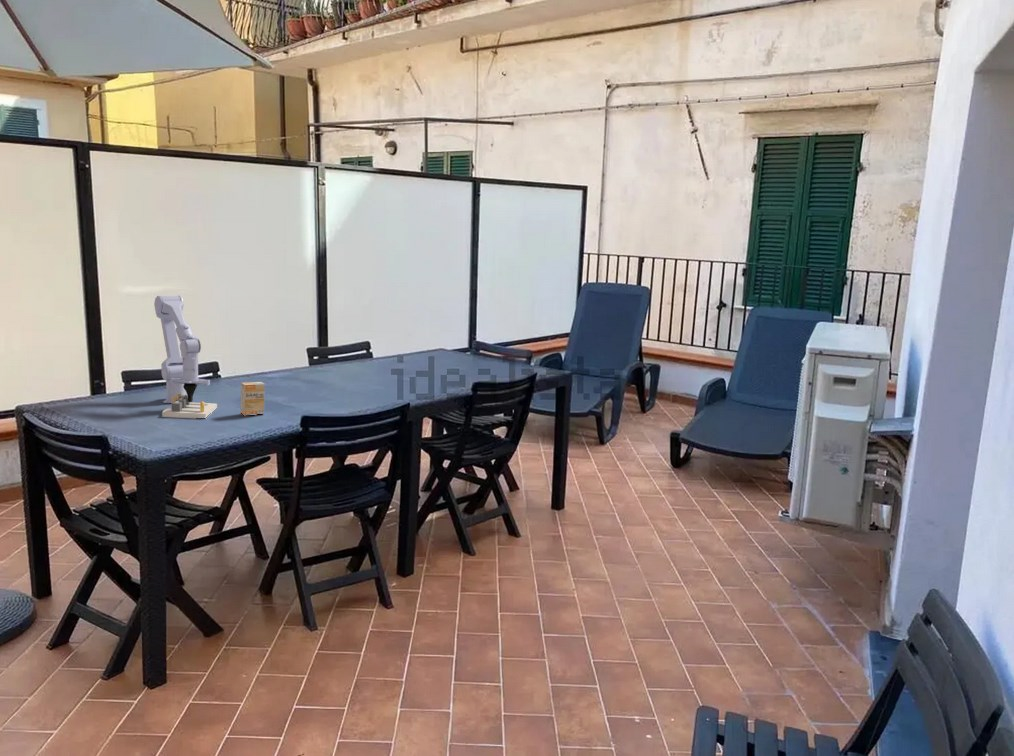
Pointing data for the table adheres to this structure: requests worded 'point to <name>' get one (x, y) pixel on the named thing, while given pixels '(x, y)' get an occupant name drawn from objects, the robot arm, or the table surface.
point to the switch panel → (190, 410)
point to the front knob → (177, 406)
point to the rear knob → (185, 398)
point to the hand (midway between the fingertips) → (190, 401)
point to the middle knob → (182, 402)
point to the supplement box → (252, 398)
